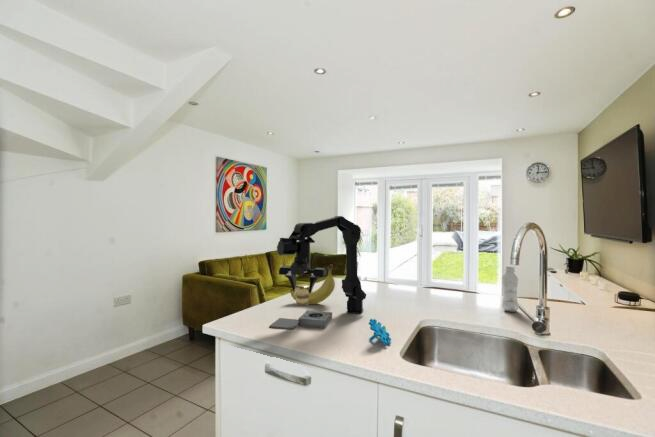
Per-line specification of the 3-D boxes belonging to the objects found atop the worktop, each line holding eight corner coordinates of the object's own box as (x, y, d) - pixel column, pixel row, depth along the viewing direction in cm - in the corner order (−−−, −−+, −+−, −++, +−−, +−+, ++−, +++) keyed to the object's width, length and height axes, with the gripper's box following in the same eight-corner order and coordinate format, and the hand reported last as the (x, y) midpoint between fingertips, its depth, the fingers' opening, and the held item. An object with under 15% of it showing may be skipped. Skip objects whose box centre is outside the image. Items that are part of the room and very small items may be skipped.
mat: (302, 321, 129) (302, 319, 129) (293, 329, 119) (293, 328, 119) (279, 319, 132) (279, 317, 132) (269, 327, 122) (269, 325, 122)
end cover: (312, 302, 128) (312, 285, 128) (307, 306, 122) (307, 288, 122) (297, 301, 130) (297, 284, 130) (292, 305, 124) (292, 287, 124)
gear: (387, 345, 100) (367, 319, 105) (374, 356, 102) (355, 330, 106) (396, 338, 110) (378, 315, 114) (384, 348, 112) (367, 325, 116)
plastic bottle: (503, 312, 140) (503, 268, 140) (501, 308, 146) (500, 265, 146) (519, 314, 137) (519, 268, 137) (516, 309, 144) (516, 266, 143)
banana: (288, 304, 154) (288, 264, 154) (292, 301, 160) (291, 262, 160) (334, 306, 150) (333, 265, 150) (335, 303, 156) (335, 263, 156)
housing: (332, 319, 131) (332, 312, 131) (325, 328, 121) (325, 320, 121) (307, 317, 134) (307, 310, 134) (298, 325, 124) (298, 318, 123)
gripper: (273, 255, 121) (272, 295, 121) (319, 257, 116) (318, 299, 116) (284, 252, 132) (283, 289, 131) (327, 254, 127) (326, 292, 127)
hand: (302, 292), depth 126 cm, fingers closed on end cover, 6 cm apart
